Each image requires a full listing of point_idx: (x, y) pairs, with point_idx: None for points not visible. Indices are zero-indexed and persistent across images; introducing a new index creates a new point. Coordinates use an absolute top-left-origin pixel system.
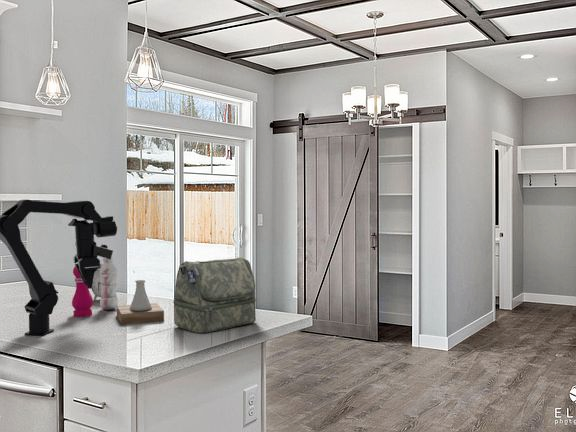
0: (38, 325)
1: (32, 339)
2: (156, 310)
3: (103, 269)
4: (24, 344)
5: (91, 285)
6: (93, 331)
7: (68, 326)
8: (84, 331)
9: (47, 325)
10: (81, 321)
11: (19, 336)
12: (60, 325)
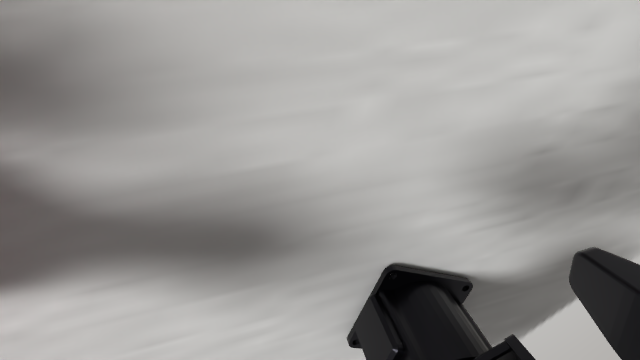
0: (481, 333)
1: (515, 296)
2: None
3: None
4: None
5: (634, 270)
6: (480, 54)
7: (275, 227)
8: (456, 110)
9: (449, 304)
10: (112, 186)
11: None
12: (233, 274)
